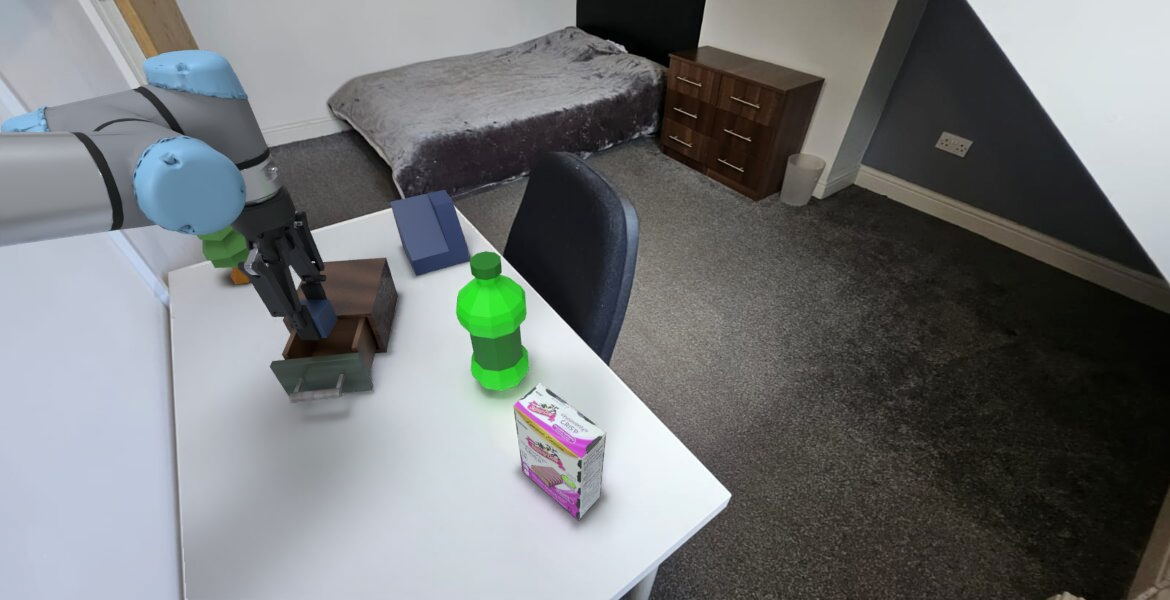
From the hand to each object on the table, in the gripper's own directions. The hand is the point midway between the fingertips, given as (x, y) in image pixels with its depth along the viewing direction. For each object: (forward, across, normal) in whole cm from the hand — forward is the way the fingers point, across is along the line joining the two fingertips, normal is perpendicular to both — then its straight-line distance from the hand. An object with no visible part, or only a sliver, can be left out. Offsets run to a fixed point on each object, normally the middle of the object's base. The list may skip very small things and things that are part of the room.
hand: (318, 326), depth 73 cm
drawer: (+10, 0, 0) cm, 10 cm away
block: (0, 0, 0) cm, 0 cm away
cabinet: (+11, +12, +2) cm, 16 cm away
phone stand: (+11, +35, -8) cm, 38 cm away
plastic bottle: (+11, -1, -28) cm, 30 cm away
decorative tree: (+11, +26, +31) cm, 42 cm away
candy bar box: (+11, -20, -38) cm, 45 cm away
